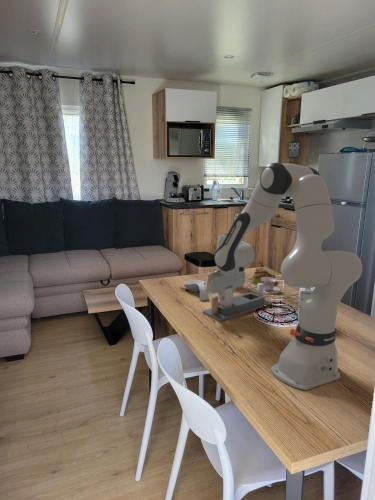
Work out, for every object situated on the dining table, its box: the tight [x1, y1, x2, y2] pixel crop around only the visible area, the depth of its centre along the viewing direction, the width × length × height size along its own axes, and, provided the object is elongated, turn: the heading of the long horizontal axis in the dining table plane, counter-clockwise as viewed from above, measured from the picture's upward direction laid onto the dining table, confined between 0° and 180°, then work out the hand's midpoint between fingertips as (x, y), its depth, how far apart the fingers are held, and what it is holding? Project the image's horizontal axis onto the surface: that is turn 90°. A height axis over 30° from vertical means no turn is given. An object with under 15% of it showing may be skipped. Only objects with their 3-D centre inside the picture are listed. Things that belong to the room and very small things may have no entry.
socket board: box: [202, 283, 273, 322], centre depth 169 cm, size 33×12×9 cm, turn 126°
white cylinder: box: [219, 285, 233, 308], centre depth 163 cm, size 4×4×10 cm
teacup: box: [261, 277, 281, 295], centre depth 193 cm, size 12×12×6 cm
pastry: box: [251, 267, 277, 286], centre depth 207 cm, size 13×15×8 cm
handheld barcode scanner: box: [182, 279, 210, 301], centre depth 190 cm, size 24×12×7 cm, turn 16°
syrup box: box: [297, 287, 314, 322], centre depth 154 cm, size 6×6×14 cm
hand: (226, 298), depth 164 cm, fingers closed on white cylinder, 4 cm apart
